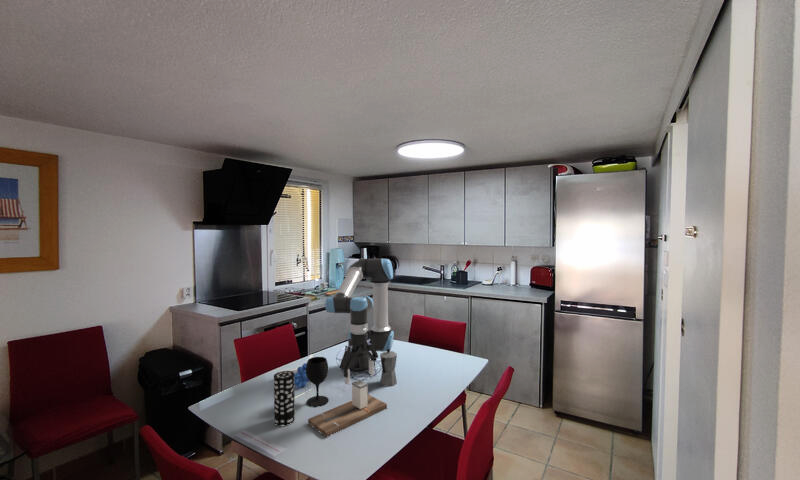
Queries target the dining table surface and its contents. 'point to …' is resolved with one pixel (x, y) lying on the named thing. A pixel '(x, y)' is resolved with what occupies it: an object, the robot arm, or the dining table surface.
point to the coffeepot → (388, 368)
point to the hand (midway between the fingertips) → (359, 378)
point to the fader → (359, 394)
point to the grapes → (301, 377)
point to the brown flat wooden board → (345, 416)
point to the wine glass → (317, 379)
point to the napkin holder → (290, 370)
